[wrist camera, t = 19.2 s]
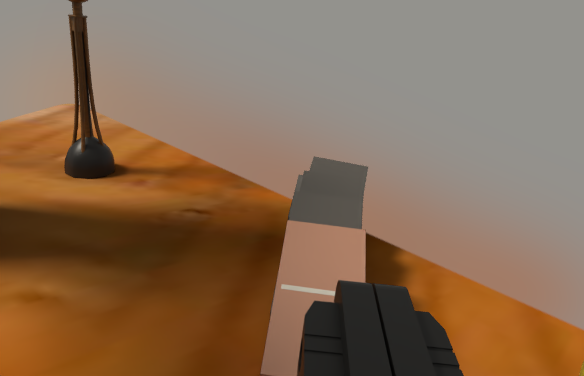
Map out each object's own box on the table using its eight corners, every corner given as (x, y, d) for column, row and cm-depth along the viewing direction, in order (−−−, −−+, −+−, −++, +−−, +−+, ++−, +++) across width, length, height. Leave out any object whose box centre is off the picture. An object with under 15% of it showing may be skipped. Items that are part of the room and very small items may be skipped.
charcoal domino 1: (353, 250, 33) (368, 166, 40) (288, 236, 34) (314, 156, 41) (350, 264, 34) (365, 180, 41) (287, 250, 35) (312, 169, 42)
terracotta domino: (364, 388, 21) (365, 229, 28) (260, 373, 21) (287, 219, 29) (359, 402, 22) (361, 245, 29) (260, 387, 23) (286, 236, 30)
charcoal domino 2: (355, 282, 29) (365, 179, 36) (280, 269, 30) (304, 170, 37) (351, 296, 30) (361, 193, 37) (280, 283, 31) (303, 184, 38)
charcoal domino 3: (357, 325, 25) (362, 200, 32) (270, 311, 26) (294, 190, 33) (352, 338, 26) (359, 215, 34) (270, 325, 27) (293, 206, 34)
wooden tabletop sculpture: (50, 166, 46) (24, -50, 39) (91, 156, 50) (75, -43, 42) (83, 182, 43) (62, -48, 36) (124, 171, 47) (113, -41, 39)
